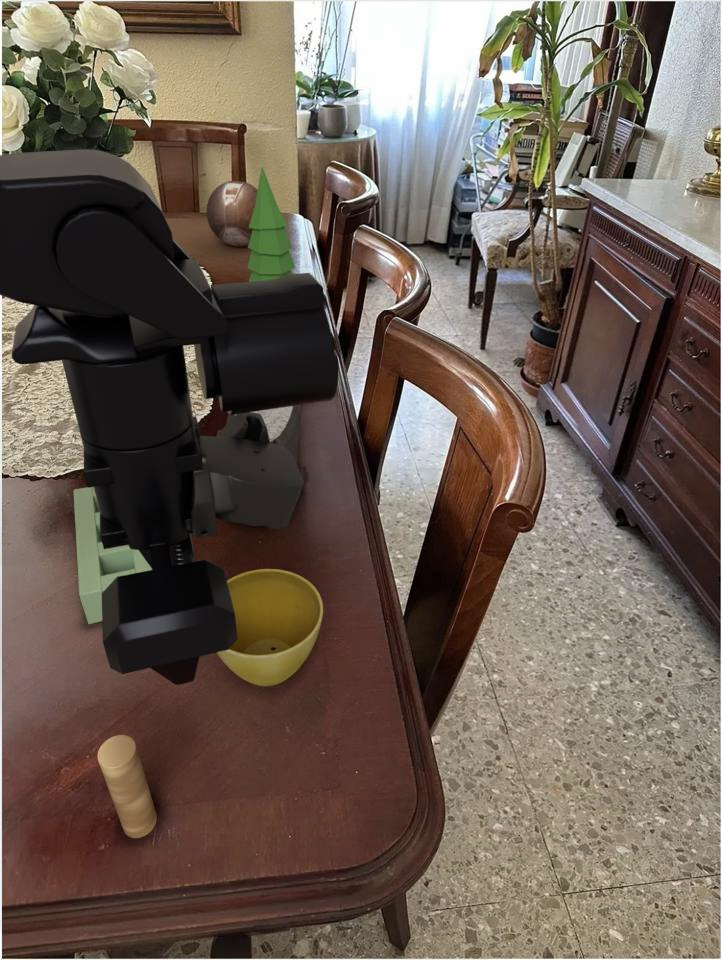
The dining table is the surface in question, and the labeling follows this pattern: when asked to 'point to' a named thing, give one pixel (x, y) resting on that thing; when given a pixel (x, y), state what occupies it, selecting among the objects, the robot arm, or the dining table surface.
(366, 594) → the dining table surface
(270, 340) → the robot arm
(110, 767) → the peg
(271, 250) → the decorative tree
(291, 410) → the grey stone cylinder
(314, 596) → the flower pot
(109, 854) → the dining table surface
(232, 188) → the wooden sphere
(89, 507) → the peg board
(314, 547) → the dining table surface
